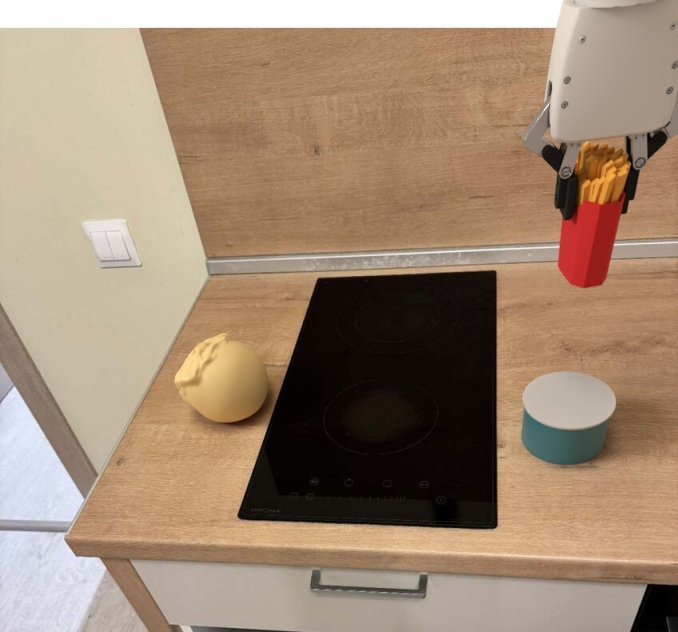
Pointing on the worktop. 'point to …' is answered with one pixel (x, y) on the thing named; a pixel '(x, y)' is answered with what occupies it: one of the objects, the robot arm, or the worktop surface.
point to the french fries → (593, 215)
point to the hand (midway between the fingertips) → (592, 209)
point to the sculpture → (223, 379)
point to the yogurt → (566, 417)
